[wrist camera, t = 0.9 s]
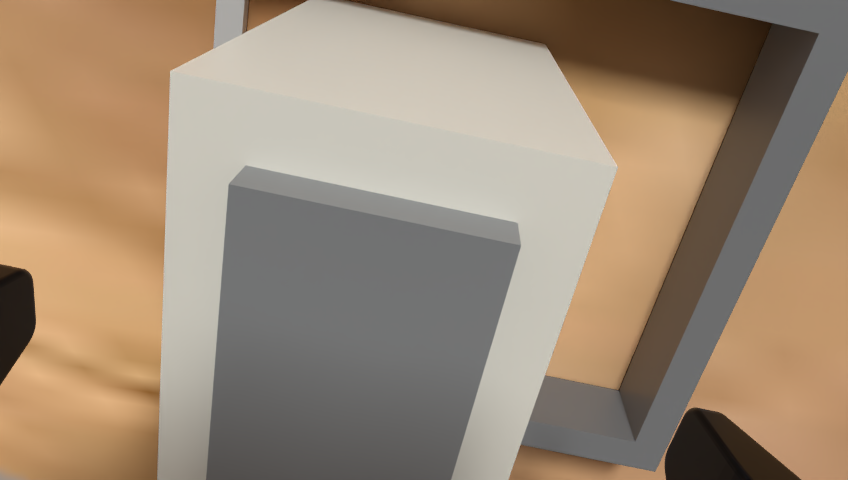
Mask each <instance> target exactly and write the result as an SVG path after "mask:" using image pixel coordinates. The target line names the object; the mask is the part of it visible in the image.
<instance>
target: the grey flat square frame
mask: <svg viewBox="0 0 848 480" xmlns="http://www.w3.org/2000/svg"><path fill="white" fill-rule="evenodd" d="M672 1H676V2H681V3H685V4H690V5H694V6H699V7H703V8H708V9H712V10H716V11H721V12H725V13H730V14H734V15H739V16H743V17H748V18H752V19H757V20H761V21H766V22H770V23H772V26H771V28H770V30H769V33H768V35H767V38H766V40H765V42H764V45H763V47H762V50H761V52H760V54H759V57H758V59H757V62H756V64H755V66H754V69H753V71H752V74H751V76H750V78H749V81H748V83H747V86H746V88H745V90H744V93H743V95H742V97H741V100H740V102H739V105H738V107H737V109H736V112H735V114H734V117H733V119H732V121H731V124H730V126H729V129H728V131H727V133H726V136H725V138H724V141H723V143H722V145H721V148H720V150H719V153H718V155H717V157H716V160H715V162H714V165H713V167H712V169H711V172H710V174H709V177H708V179H707V181H706V184H705V186H704V188H703V191H702V193H701V196H700V198H699V200H698V203H697V205H696V208H695V210H694V212H693V215H692V217H691V220H690V222H689V224H688V227H687V229H686V232H685V234H684V236H683V239H682V241H681V244H680V246H679V248H678V251H677V253H676V256H675V258H674V260H673V263H672V265H671V268H670V270H669V272H668V275H667V277H666V279H665V282H664V284H663V287H662V289H661V291H660V294H659V296H658V299H657V301H656V303H655V306H654V308H653V311H652V313H651V315H650V318H649V320H648V323H647V325H646V327H645V330H644V332H643V335H642V337H641V339H640V342H639V344H638V347H637V349H636V351H635V354H634V356H633V359H632V361H631V363H630V366H629V368H628V370H627V373H626V375H625V378H624V380H623V382H622V385H621V387H620V390H619V391H618V390H613V389H609V388H604V387H599V386H594V385H589V384H584V383H579V382H574V381H570V380H565V379H560V378H555V377H550V376H544V379H543V382H542V385H541V388H540V391H539V394H538V396H537V399H536V402H535V405H534V408H533V411H532V413H531V416H530V419H529V422H528V425H527V428H526V431H525V433H524V436H523V439H522V442H521V445H525V446H530V447H535V448H540V449H545V450H550V451H555V452H560V453H565V454H570V455H575V456H580V457H585V458H590V459H595V460H600V461H605V462H609V463H614V464H619V465H624V466H629V467H634V468H639V469H644V470H649V471H654V472H655V471H656V469H657V467H658V465H659V463H660V461H661V458H662V456H663V454H664V452H665V450H666V448H667V446H668V444H669V442H670V440H671V438H672V436H673V433H674V431H675V429H676V427H677V425H678V423H679V421H680V419H681V417H682V415H683V413H684V411H685V408H686V406H687V404H688V402H689V400H690V398H691V396H692V394H693V392H694V390H695V388H696V386H697V384H698V381H699V379H700V377H701V375H702V373H703V371H704V369H705V367H706V365H707V363H708V361H709V359H710V356H711V354H712V352H713V350H714V348H715V346H716V344H717V342H718V340H719V338H720V336H721V334H722V331H723V329H724V327H725V325H726V323H727V321H728V319H729V317H730V315H731V313H732V311H733V309H734V307H735V304H736V302H737V300H738V298H739V296H740V294H741V292H742V290H743V288H744V286H745V284H746V282H747V279H748V277H749V275H750V273H751V271H752V269H753V267H754V265H755V263H756V261H757V259H758V257H759V254H760V252H761V250H762V248H763V246H764V244H765V242H766V240H767V238H768V236H769V234H770V232H771V230H772V227H773V225H774V223H775V221H776V219H777V217H778V215H779V213H780V211H781V209H782V207H783V205H784V202H785V200H786V198H787V196H788V194H789V192H790V190H791V188H792V186H793V184H794V182H795V180H796V178H797V175H798V173H799V171H800V169H801V167H802V165H803V163H804V161H805V159H806V157H807V155H808V153H809V150H810V148H811V146H812V144H813V142H814V140H815V138H816V136H817V134H818V132H819V130H820V128H821V125H822V123H823V121H824V119H825V117H826V115H827V113H828V111H829V109H830V107H831V105H832V103H833V101H834V98H835V96H836V94H837V92H838V90H839V88H840V86H841V84H842V82H843V80H844V78H845V76H846V73H847V71H848V0H672ZM248 3H249V0H216V16H215V33H214V48H216V47H218V46H220V45H222V44H224V43H226V42H228V41H230V40H232V39H234V38H236V37H238V36H240V35H242V34H244V33H246V28H247V16H248Z"/></svg>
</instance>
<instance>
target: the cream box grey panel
mask: <svg viewBox="0 0 848 480" xmlns="http://www.w3.org/2000/svg"><path fill="white" fill-rule="evenodd" d="M617 168H618V166H617V165H616V163H615V161H614V160H613V158H612V156H611V155H610V153H609V151H608V150H607V148H606V146H605V144H604V143H603V141H602V139H601V138H600V136H599V134H598V133H597V131H596V129H595V127H594V126H593V124H592V122H591V121H590V119H589V117H588V116H587V114H586V112H585V111H584V109H583V107H582V105H581V104H580V102H579V100H578V99H577V97H576V95H575V94H574V92H573V90H572V89H571V87H570V85H569V83H568V82H567V80H566V78H565V77H564V75H563V73H562V72H561V70H560V68H559V67H558V65H557V63H556V61H555V60H554V58H553V56H552V55H551V53H550V51H549V50H548V48H547V46H546V45H545V44H542V43H538V42H533V41H529V40H524V39H519V38H515V37H510V36H506V35H501V34H497V33H492V32H488V31H483V30H479V29H474V28H470V27H465V26H460V25H456V24H451V23H447V22H442V21H438V20H433V19H429V18H424V17H420V16H415V15H411V14H406V13H401V12H397V11H392V10H388V9H383V8H379V7H374V6H370V5H365V4H361V3H356V2H351V1H347V0H308V1H306V2H304V3H302V4H300V5H298V6H296V7H294V8H292V9H290V10H288V11H287V12H285V13H283V14H281V15H279V16H277V17H275V18H273V19H271V20H269V21H267V22H265V23H263V24H261V25H259V26H257V27H255V28H253V29H251V30H249V31H247V32H246V33H244V34H242V35H240V36H238V37H236V38H234V39H232V40H230V41H228V42H226V43H224V44H222V45H220V46H218V47H216V48H214V49H212V50H210V51H208V52H206V53H205V54H203V55H201V56H199V57H197V58H195V59H193V60H191V61H189V62H187V63H185V64H183V65H181V66H179V67H177V68H175V69H173V70H171V71H170V98H169V129H168V160H167V192H166V223H165V254H164V285H163V316H162V347H161V379H160V410H159V441H158V472H157V480H508V479H509V476H510V473H511V470H512V468H513V465H514V462H515V459H516V456H517V453H518V451H519V448H520V445H521V442H522V439H523V436H524V433H525V431H526V428H527V425H528V422H529V419H530V416H531V413H532V411H533V408H534V405H535V402H536V399H537V396H538V394H539V391H540V388H541V385H542V382H543V379H544V376H545V374H546V371H547V368H548V365H549V362H550V359H551V357H552V354H553V351H554V348H555V345H556V342H557V339H558V337H559V334H560V331H561V328H562V325H563V322H564V319H565V317H566V314H567V311H568V308H569V305H570V302H571V300H572V297H573V294H574V291H575V288H576V285H577V282H578V280H579V277H580V274H581V271H582V268H583V265H584V262H585V260H586V257H587V254H588V251H589V248H590V245H591V243H592V240H593V237H594V234H595V231H596V228H597V225H598V223H599V220H600V217H601V214H602V211H603V208H604V206H605V203H606V200H607V197H608V194H609V191H610V188H611V186H612V183H613V180H614V177H615V174H616V171H617Z"/></svg>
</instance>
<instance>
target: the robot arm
mask: <svg viewBox="0 0 848 480" xmlns="http://www.w3.org/2000/svg"><path fill="white" fill-rule="evenodd" d="M35 325H36V315H35V301H34V286H33V279H32V276H31V274H30V273H29V272H28V271H27V270H25V269H21V268H16V267H11V266H6V265H1V264H0V385H1V384H2V382H3V381H4V379H5V378H6V376H7V375H8V373H9V372H10V370H11V369H12V367H13V366H14V364H15V363H16V361H17V360H18V358H19V357H20V355H21V354H22V352H23V351H24V349H25V348H26V346H27V345H28V343H29V341H30V340H31V338H32V336H33V333H34V330H35ZM665 475H666V480H801V479H800V478H799V477H797V476H796V475H795V474H794V473H793V472H791V471H790V470H789V469H788V468H787V467H786V466H784V465H783V464H782V463H781V462H780V461H778V460H777V459H776V458H775V457H774V456H772V455H771V454H770V453H769V452H768V451H766V450H765V449H764V448H763V447H762V446H761V445H759V444H758V443H757V442H756V441H755V440H753V439H752V438H751V437H750V436H749V435H747V434H746V433H745V432H744V431H743V430H741V429H740V428H739V427H738V426H737V425H736V424H734V423H733V422H732V421H731V420H730V419H728V418H727V417H726V416H725V415H723V414H722V413H719V412H715V411H710V410H705V409H701V408H691V409H689V410H688V411H687V412H686V413H685V415H684V417H683V419H682V421H681V423H680V425H679V427H678V429H677V431H676V433H675V435H674V438H673V440H672V442H671V444H670V446H669V448H668V450H667V453H666V457H665Z"/></svg>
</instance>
